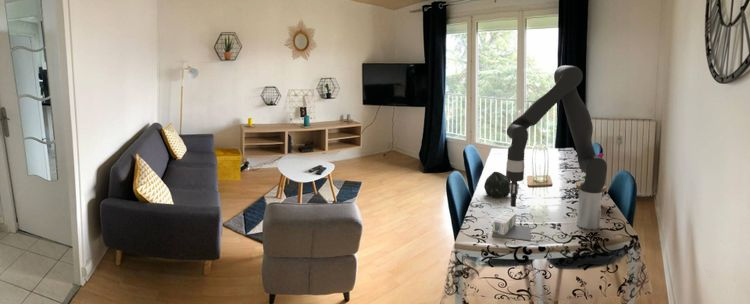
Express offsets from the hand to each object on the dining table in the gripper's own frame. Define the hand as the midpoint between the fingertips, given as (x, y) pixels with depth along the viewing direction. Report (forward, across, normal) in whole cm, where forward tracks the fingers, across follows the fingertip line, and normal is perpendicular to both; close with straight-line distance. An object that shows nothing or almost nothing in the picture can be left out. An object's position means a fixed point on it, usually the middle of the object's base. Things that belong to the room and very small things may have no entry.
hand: (513, 206), depth 211 cm
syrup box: (+8, +6, +1) cm, 10 cm away
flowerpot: (+11, +45, -37) cm, 60 cm away
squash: (+11, +46, +9) cm, 48 cm away
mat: (+11, -4, 0) cm, 12 cm away
